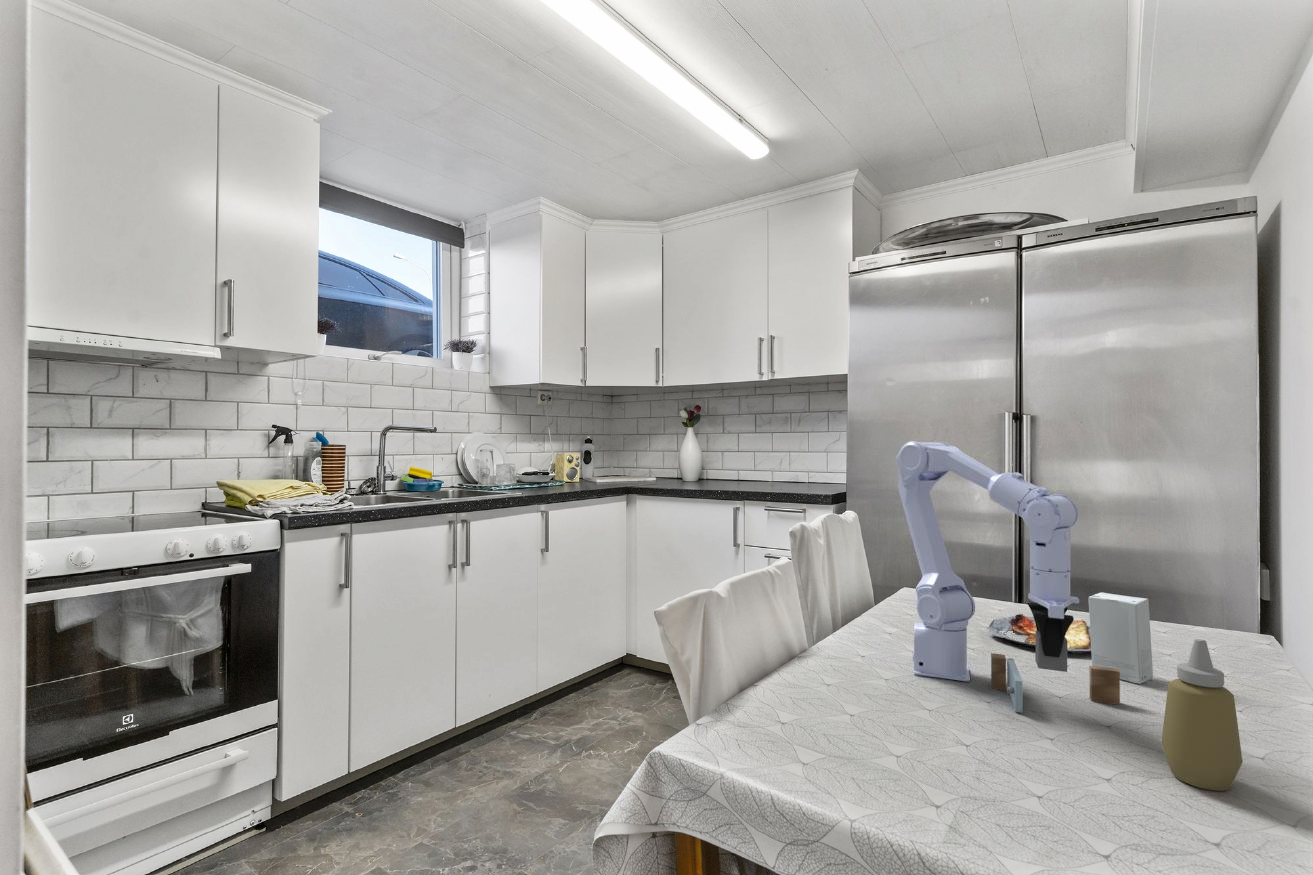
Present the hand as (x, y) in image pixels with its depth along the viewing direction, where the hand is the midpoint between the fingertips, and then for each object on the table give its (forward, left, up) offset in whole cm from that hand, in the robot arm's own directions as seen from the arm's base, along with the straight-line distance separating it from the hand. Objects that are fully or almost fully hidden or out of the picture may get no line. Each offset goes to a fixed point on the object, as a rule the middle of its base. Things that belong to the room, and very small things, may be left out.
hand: (1049, 651), depth 107 cm
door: (-5, +2, -9) cm, 11 cm away
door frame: (0, +7, -9) cm, 12 cm away
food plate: (+6, +44, -10) cm, 46 cm away
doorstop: (0, 0, -2) cm, 2 cm away
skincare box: (+14, +23, -10) cm, 29 cm away
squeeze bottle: (+14, -19, -10) cm, 25 cm away
